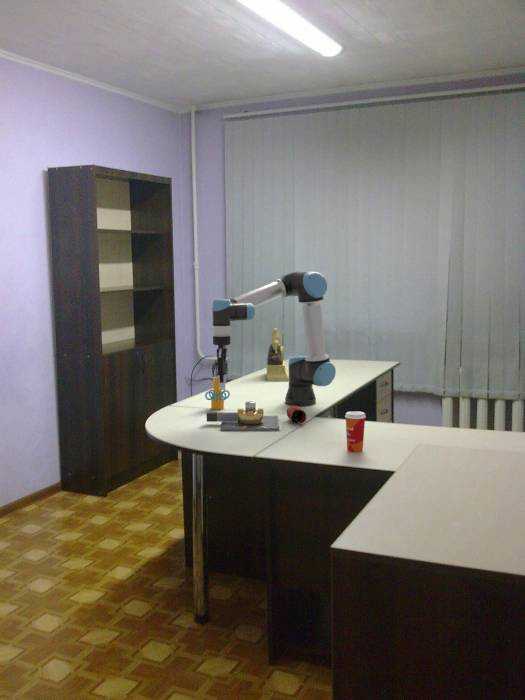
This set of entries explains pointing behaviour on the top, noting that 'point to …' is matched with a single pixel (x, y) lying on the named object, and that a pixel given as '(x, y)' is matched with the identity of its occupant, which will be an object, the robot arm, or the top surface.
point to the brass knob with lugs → (237, 416)
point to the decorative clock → (276, 360)
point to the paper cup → (355, 430)
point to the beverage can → (296, 414)
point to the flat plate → (268, 424)
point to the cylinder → (217, 395)
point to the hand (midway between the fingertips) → (222, 389)
